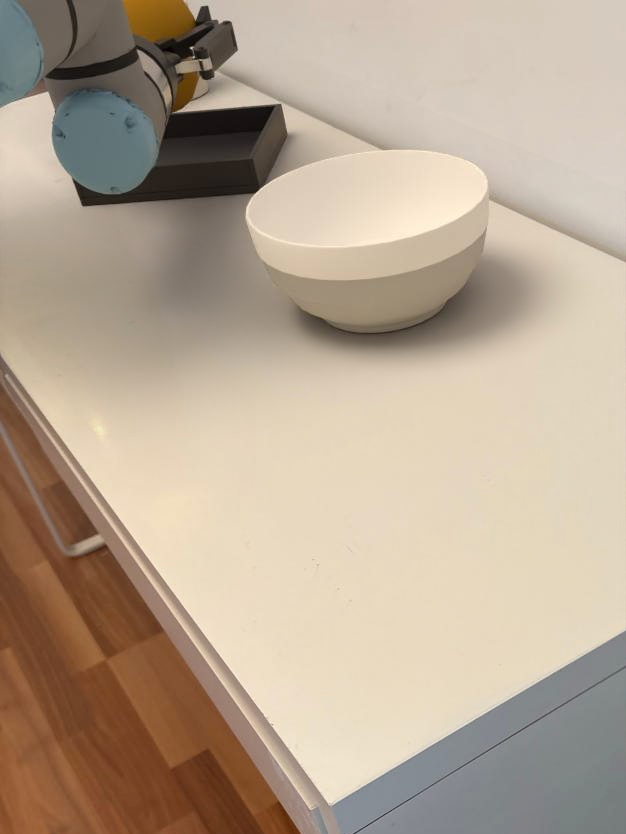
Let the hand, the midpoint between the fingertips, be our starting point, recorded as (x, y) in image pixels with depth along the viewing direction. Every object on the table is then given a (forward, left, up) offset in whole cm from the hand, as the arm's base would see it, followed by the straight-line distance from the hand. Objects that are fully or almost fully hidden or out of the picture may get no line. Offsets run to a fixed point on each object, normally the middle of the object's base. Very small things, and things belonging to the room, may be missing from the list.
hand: (158, 27), depth 102 cm
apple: (+1, -4, -7) cm, 8 cm away
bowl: (+26, -39, -13) cm, 49 cm away
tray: (+1, -4, -13) cm, 13 cm away
